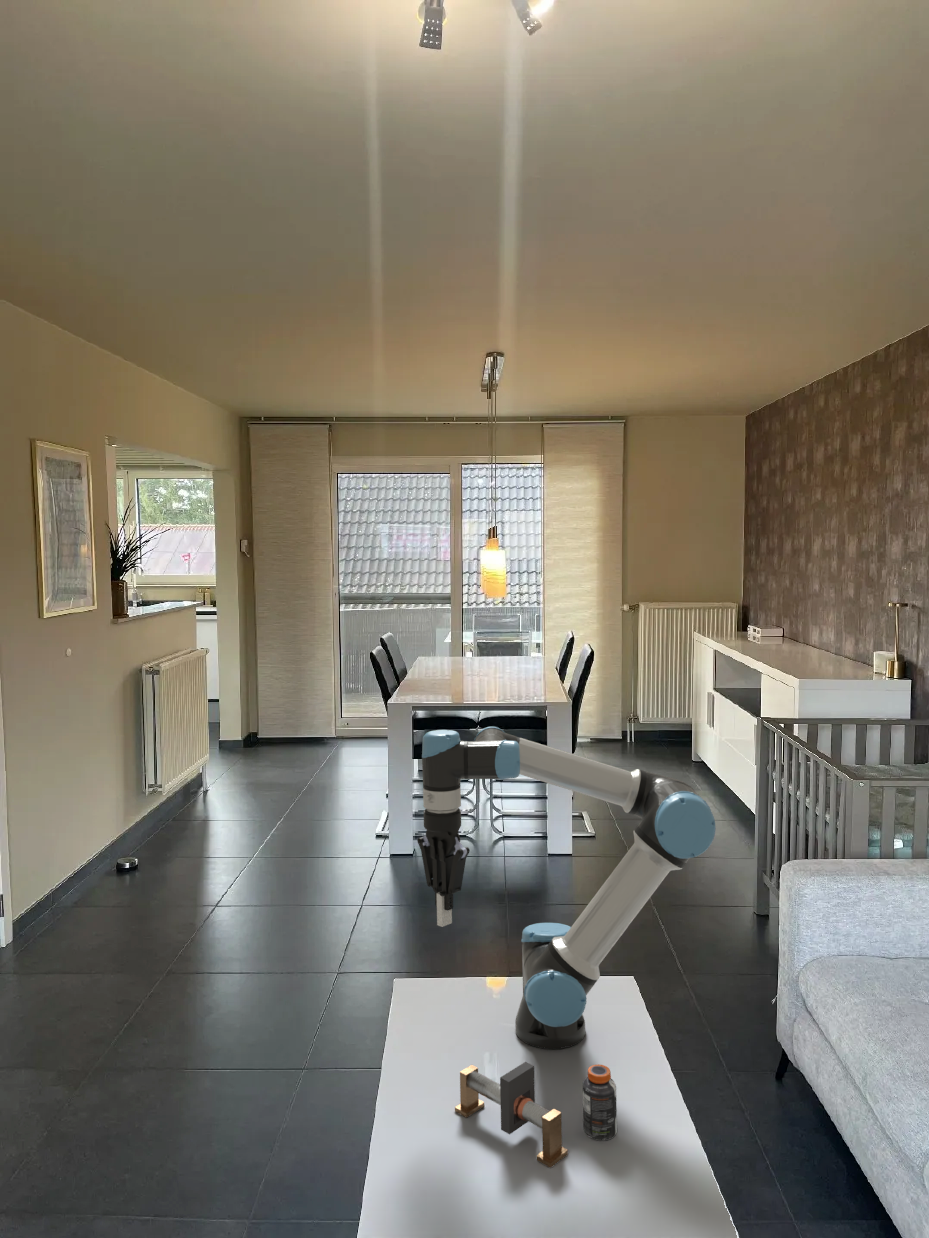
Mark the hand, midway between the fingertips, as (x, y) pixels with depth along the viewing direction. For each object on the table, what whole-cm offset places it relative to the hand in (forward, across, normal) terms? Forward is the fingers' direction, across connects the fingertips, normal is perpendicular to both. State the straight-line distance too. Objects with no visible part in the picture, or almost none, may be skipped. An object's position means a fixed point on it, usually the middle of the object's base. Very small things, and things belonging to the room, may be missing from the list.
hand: (444, 923), depth 177 cm
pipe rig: (+29, +23, -7) cm, 38 cm away
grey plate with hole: (+27, +25, -7) cm, 38 cm away
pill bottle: (+30, +35, +4) cm, 46 cm away
